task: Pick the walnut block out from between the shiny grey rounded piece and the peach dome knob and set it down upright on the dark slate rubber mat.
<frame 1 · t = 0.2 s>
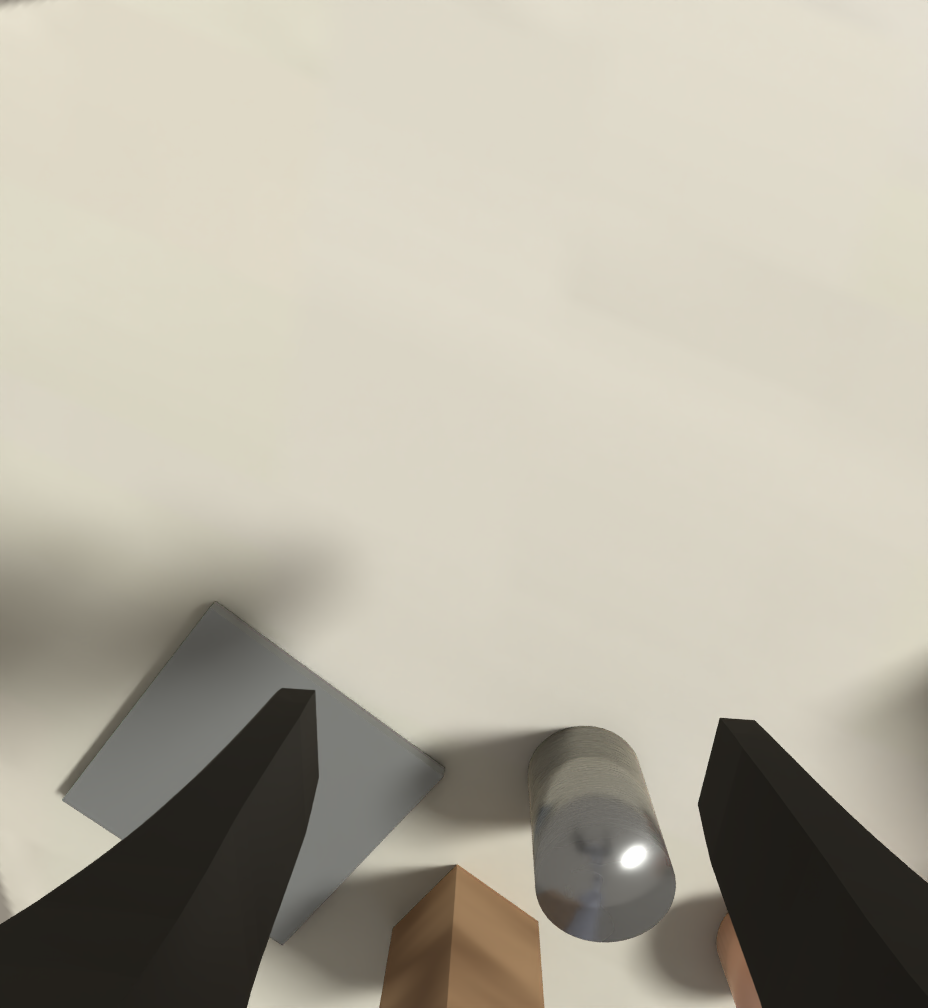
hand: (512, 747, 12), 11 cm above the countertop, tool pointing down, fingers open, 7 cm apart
peach dome knob: (782, 937, 26), on the countertop
slate mat: (253, 779, 25), on the countertop
walnut block: (464, 924, 26), on the countertop
shiny grey rounded piece: (583, 775, 25), on the countertop
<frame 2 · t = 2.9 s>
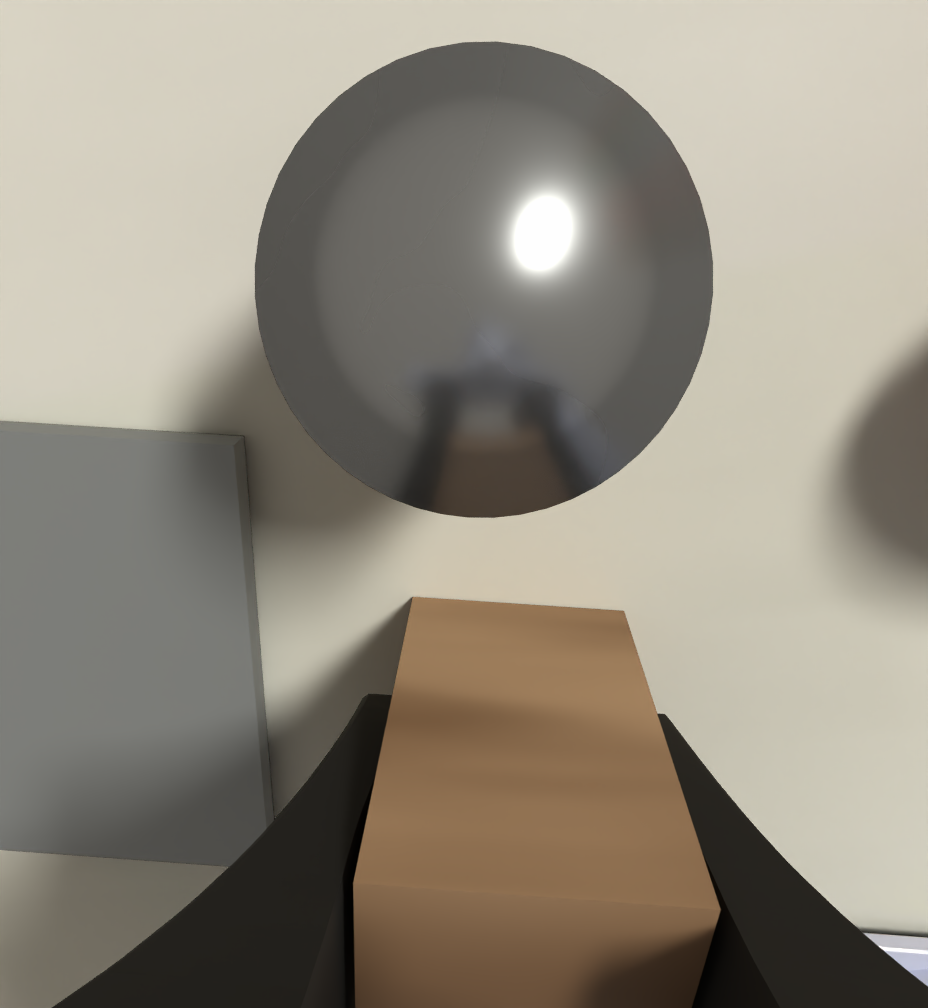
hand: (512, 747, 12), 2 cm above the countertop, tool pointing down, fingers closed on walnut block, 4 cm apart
slate mat: (17, 656, 14), on the countertop
walnut block: (509, 689, 14), on the countertop, touching gripper
shiny grey rounded piece: (486, 266, 11), on the countertop
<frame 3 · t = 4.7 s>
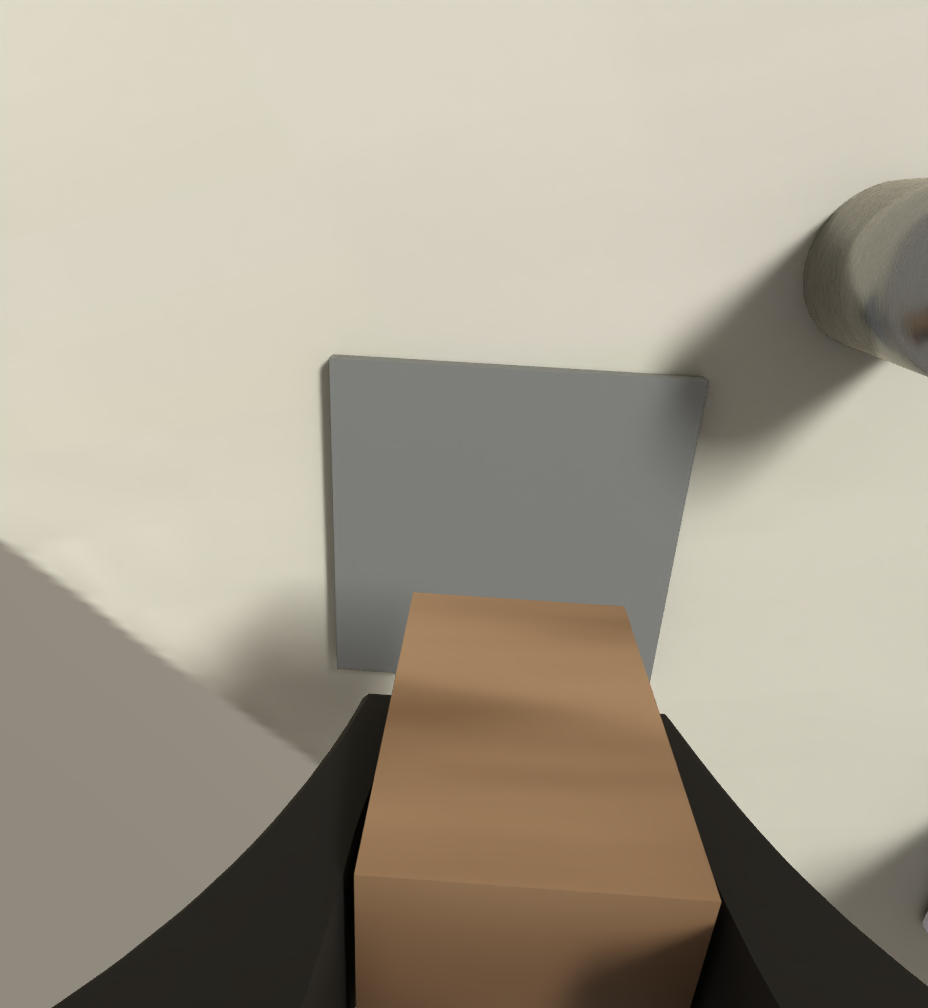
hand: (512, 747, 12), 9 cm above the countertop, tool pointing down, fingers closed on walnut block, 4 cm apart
slate mat: (503, 532, 20), on the countertop
walnut block: (510, 684, 14), point 7 cm above the countertop, touching gripper
shiny grey rounded piece: (885, 267, 17), on the countertop
when the fingers open (4 cm above the countertop, at t = 6.5 s): walnut block drops 1 cm, resting on slate mat.
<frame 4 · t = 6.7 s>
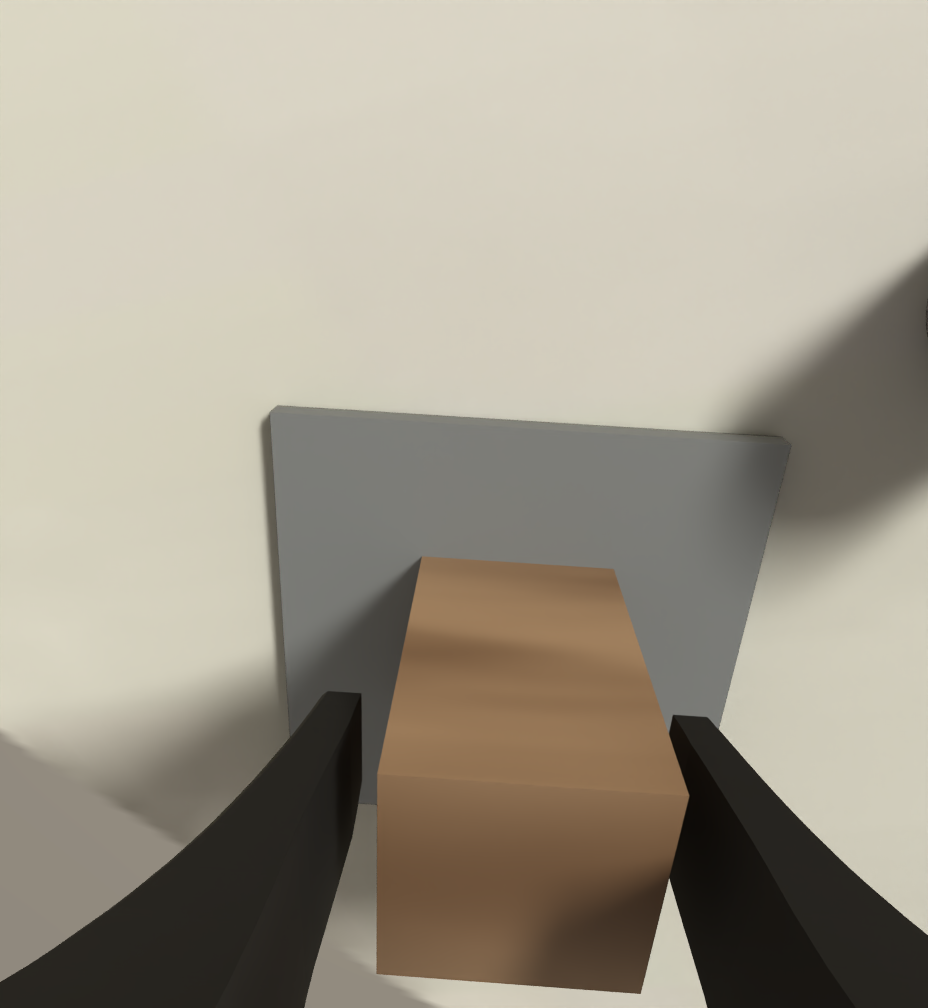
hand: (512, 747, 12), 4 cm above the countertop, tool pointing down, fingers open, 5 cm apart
slate mat: (508, 633, 16), on the countertop
walnut block: (509, 642, 15), resting on slate mat
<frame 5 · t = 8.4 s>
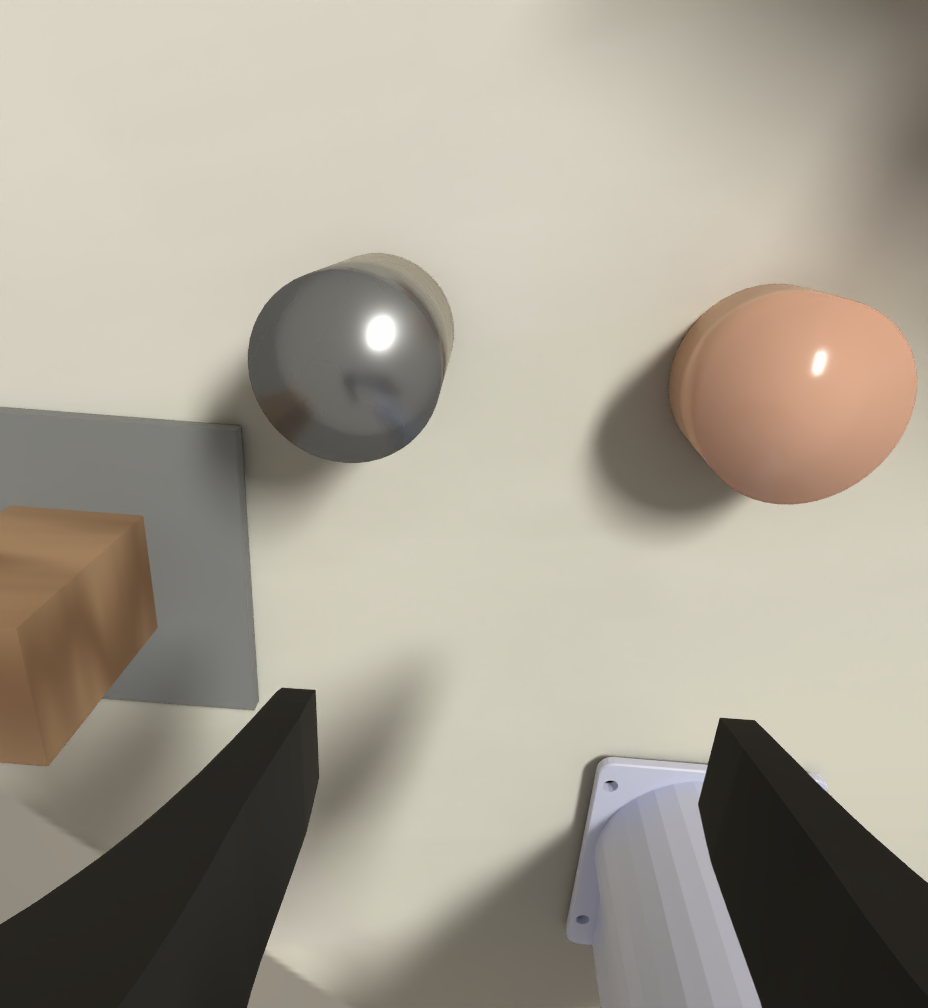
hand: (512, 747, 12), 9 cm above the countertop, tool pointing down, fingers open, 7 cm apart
peach dome knob: (759, 378, 19), on the countertop
slate mat: (95, 563, 22), on the countertop
walnut block: (87, 568, 21), resting on slate mat
shiny grey rounded piece: (380, 331, 19), on the countertop
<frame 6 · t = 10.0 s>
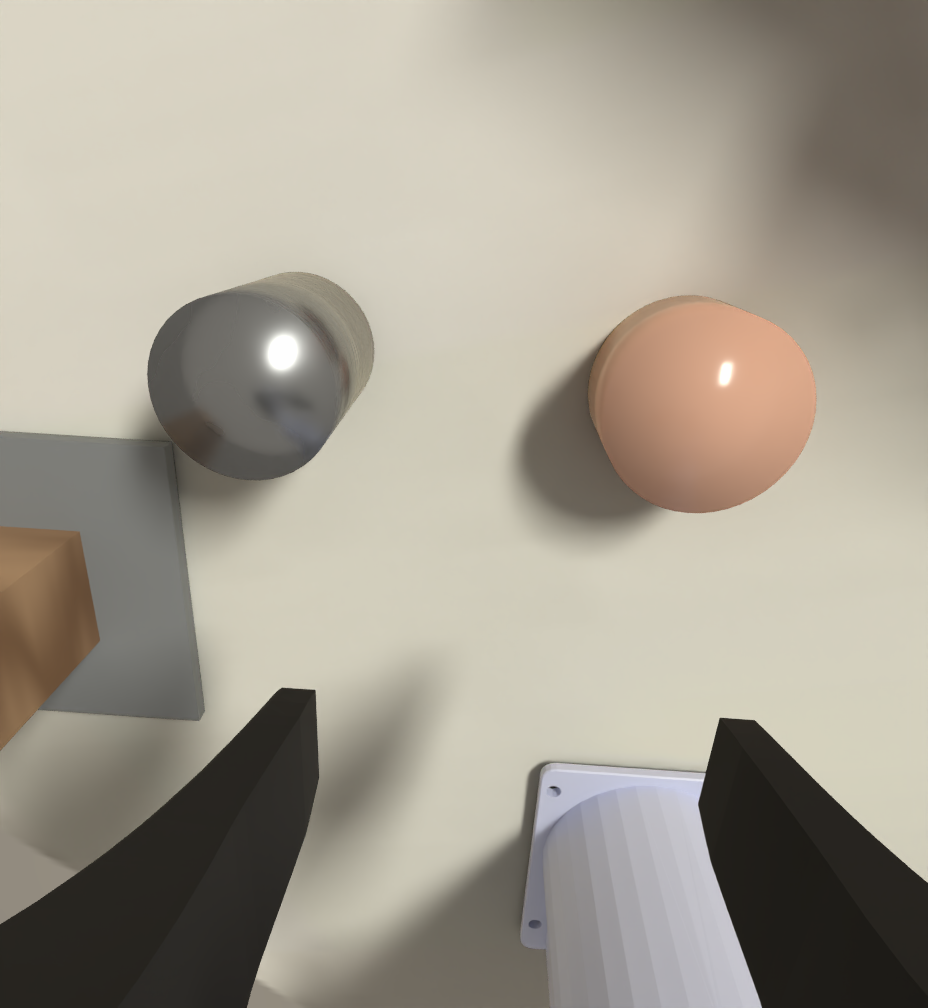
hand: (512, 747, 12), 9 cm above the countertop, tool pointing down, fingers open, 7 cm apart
peach dome knob: (677, 387, 19), on the countertop
slate mat: (37, 578, 22), on the countertop
walnut block: (28, 583, 22), resting on slate mat
shiny grey rounded piece: (302, 347, 19), on the countertop
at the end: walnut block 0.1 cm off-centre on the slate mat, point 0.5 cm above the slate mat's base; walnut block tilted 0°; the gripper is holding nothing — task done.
